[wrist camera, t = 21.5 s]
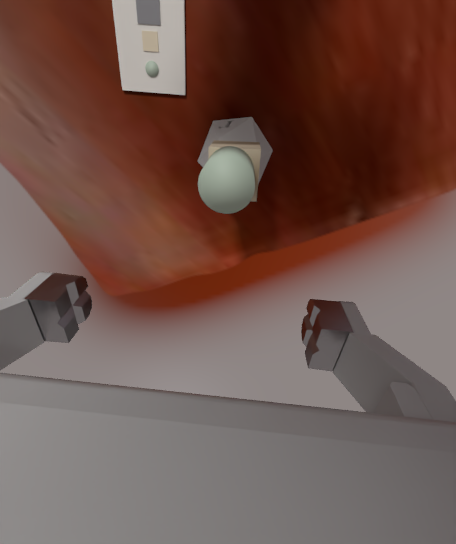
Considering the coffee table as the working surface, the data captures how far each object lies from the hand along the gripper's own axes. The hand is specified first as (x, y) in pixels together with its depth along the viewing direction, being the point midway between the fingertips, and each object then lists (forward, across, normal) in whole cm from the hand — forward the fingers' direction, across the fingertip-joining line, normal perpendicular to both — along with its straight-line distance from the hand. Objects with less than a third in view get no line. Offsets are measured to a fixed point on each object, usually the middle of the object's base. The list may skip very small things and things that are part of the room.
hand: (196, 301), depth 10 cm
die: (+33, 0, 0) cm, 33 cm away
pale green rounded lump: (+20, 0, 0) cm, 21 cm away
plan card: (+33, +11, -11) cm, 37 cm away
